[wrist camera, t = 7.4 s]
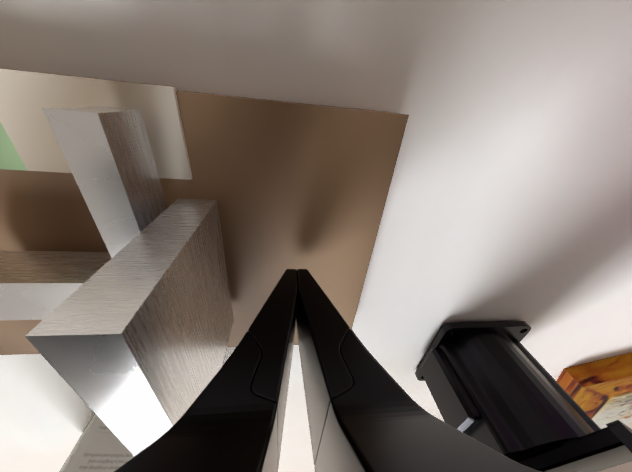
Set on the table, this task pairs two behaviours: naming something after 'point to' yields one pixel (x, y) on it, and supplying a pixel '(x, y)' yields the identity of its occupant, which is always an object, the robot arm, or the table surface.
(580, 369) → the picture frame
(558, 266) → the table surface
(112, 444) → the skincare box
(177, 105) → the base
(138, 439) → the gray t-shaped beam
